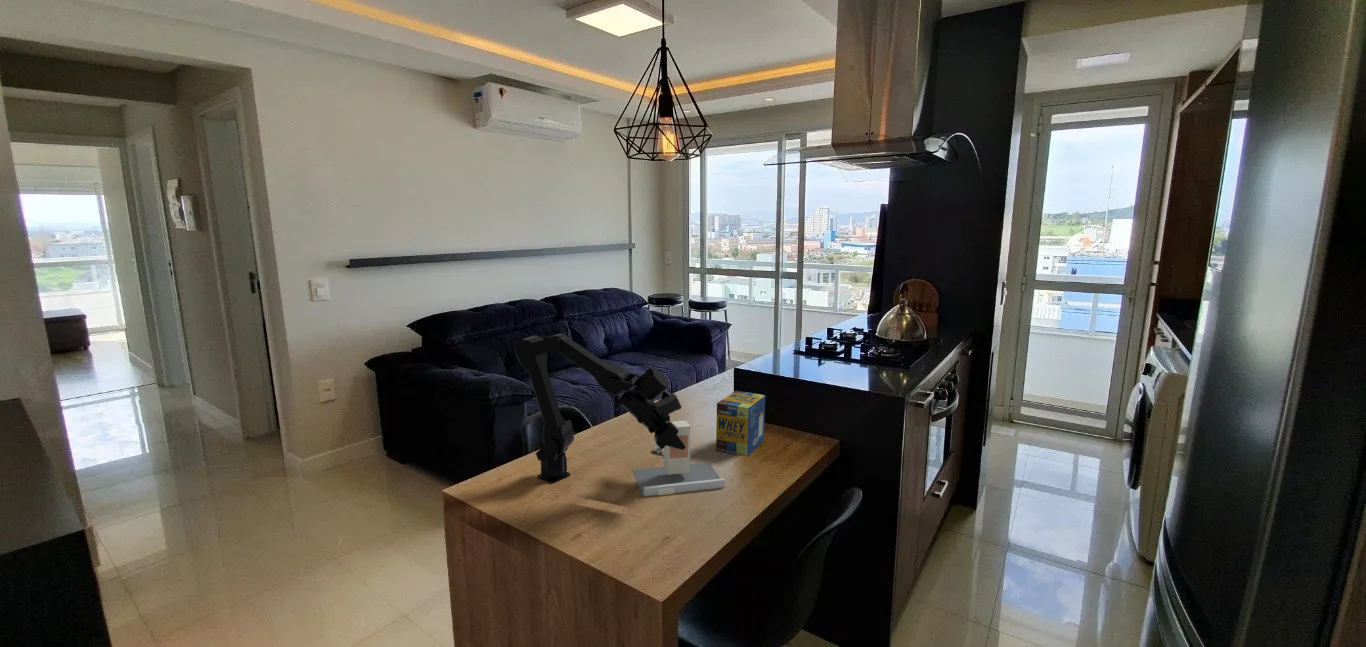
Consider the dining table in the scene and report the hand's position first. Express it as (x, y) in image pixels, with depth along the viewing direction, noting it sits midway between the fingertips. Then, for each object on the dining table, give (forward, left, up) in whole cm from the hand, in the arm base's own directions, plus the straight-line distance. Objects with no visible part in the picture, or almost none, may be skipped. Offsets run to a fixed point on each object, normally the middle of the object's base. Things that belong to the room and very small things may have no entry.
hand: (682, 444), depth 152 cm
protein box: (+31, 0, -11) cm, 33 cm away
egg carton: (+13, +13, -11) cm, 21 cm away
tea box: (-1, +1, -7) cm, 7 cm away
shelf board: (-2, 0, -10) cm, 10 cm away
